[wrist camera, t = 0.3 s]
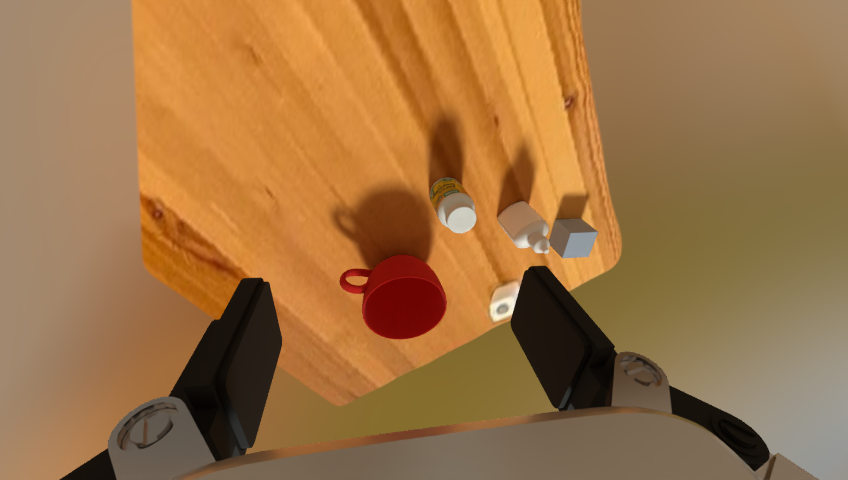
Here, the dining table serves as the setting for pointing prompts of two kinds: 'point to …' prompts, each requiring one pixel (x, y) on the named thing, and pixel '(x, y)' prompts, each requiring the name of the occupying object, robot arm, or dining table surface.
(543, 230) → the eye dropper bottle
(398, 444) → the robot arm
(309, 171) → the dining table surface
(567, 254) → the slate block
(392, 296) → the ceramic cup
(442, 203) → the supplement bottle
